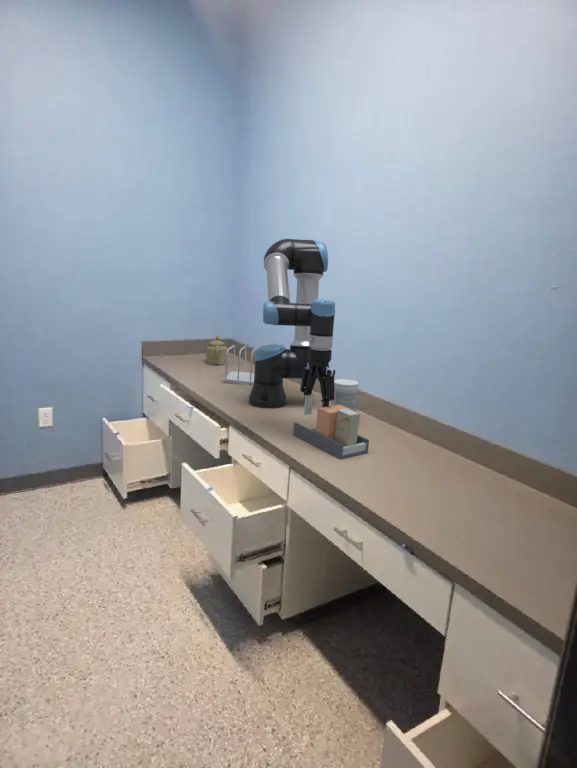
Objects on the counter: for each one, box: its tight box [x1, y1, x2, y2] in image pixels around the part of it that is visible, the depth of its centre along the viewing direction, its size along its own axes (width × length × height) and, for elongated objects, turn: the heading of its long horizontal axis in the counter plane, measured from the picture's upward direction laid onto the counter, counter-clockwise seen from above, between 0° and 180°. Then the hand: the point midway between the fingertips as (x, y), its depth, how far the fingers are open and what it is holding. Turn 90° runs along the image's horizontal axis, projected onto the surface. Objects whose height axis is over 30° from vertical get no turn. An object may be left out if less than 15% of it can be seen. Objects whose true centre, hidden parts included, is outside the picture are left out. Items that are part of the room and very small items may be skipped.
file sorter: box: [222, 344, 259, 386], centre depth 245 cm, size 25×17×16 cm
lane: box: [292, 422, 370, 460], centre depth 169 cm, size 24×11×4 cm, turn 36°
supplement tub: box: [330, 378, 359, 413], centre depth 194 cm, size 10×10×15 cm
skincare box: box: [334, 408, 361, 447], centre depth 162 cm, size 6×4×12 cm
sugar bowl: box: [206, 334, 228, 365], centre depth 278 cm, size 15×11×15 cm
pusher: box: [315, 405, 352, 440], centre depth 167 cm, size 6×9×11 cm, turn 126°
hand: (315, 417), depth 174 cm, fingers open, 7 cm apart
